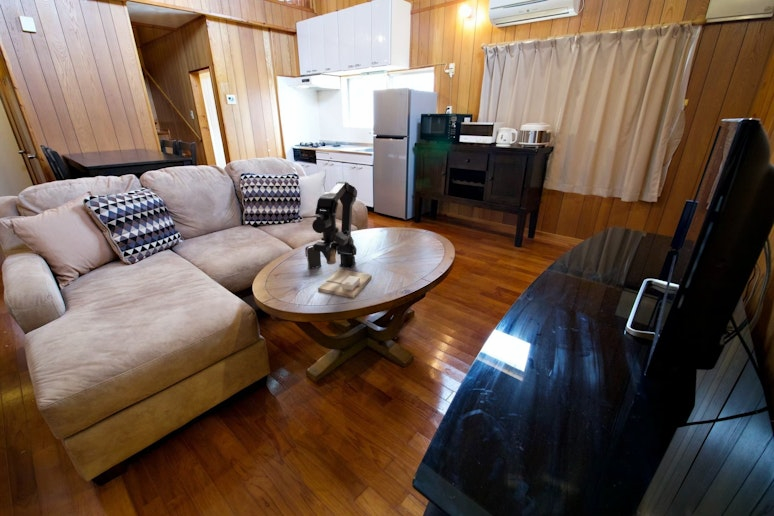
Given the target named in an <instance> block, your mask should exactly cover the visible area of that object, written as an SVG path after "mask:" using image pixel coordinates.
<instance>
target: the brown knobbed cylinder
mask: <svg viewBox="0 0 774 516" xmlns="http://www.w3.org/2000/svg"><path fill="white" fill-rule="evenodd" d="M336 262H337V259H336V255H335V249H332V250H331V254H330V262H328V261H327V260H326V264H327V265H331V266H332V265H335V264H336Z"/></svg>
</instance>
